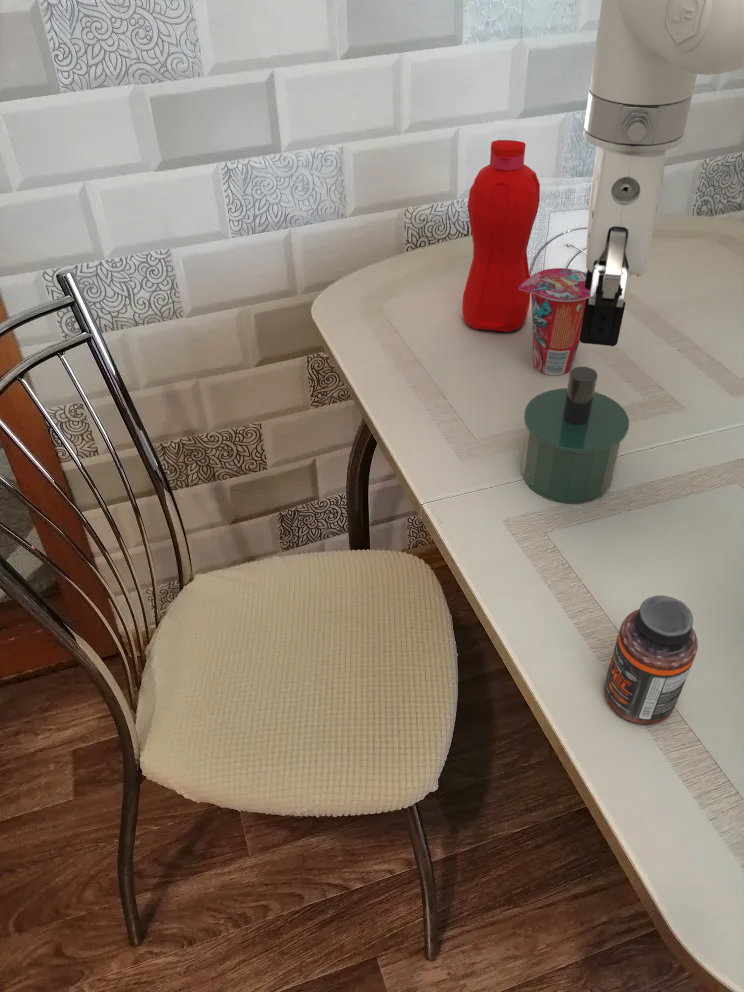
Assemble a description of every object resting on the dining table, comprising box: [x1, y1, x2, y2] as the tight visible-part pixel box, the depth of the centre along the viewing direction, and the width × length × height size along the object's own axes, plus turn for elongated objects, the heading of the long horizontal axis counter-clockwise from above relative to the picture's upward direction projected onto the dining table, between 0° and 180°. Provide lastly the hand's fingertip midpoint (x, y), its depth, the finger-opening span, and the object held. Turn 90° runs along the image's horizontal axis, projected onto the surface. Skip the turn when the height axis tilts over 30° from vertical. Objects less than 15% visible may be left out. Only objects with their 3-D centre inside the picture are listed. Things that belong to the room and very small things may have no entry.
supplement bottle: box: [603, 594, 699, 726], centre depth 65 cm, size 6×6×11 cm
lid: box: [523, 366, 630, 453], centre depth 84 cm, size 11×11×7 cm
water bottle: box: [461, 139, 541, 333], centre depth 109 cm, size 9×11×25 cm
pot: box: [521, 427, 622, 504], centre depth 88 cm, size 10×10×8 cm
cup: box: [519, 267, 590, 376], centre depth 103 cm, size 9×8×12 cm
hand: (599, 314), depth 73 cm, fingers open, 9 cm apart
